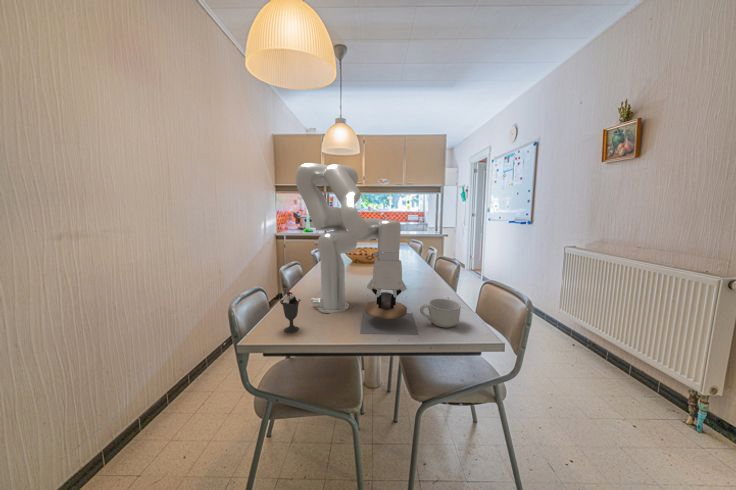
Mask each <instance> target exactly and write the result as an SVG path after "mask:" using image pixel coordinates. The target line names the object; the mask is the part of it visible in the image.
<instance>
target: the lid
mask: <svg viewBox="0 0 736 490" xmlns="http://www.w3.org/2000/svg"><path fill="white" fill-rule="evenodd" d="M392 294H393V292H388V291H385V292H383V291H382V292H380V295H381V305H380V308H378V305H377V300H373V301H369V302H367V303H366V304H365V305H364V312H366V313H367V314H369V315H371V316H373V317H377V318H383V319H395V318H400V317H403V316H405V315H406V313H408V307H407V306H406V305H404V304H403V303H401V302H398V301H396V305H394V308H391V304H392Z"/></svg>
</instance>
